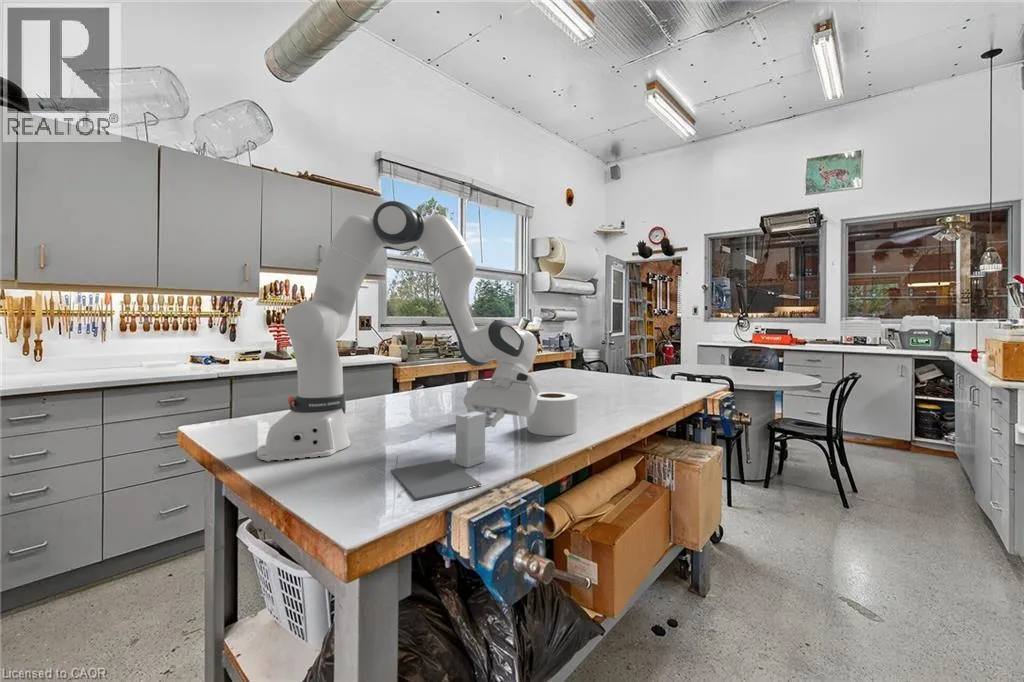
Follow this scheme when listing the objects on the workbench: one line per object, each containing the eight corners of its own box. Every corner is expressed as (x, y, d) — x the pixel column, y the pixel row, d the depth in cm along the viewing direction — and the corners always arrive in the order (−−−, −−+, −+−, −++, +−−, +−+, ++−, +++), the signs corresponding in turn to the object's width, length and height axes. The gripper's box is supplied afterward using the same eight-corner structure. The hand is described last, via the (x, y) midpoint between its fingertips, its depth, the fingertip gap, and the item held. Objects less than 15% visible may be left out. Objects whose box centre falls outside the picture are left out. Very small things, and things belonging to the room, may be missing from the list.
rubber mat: (415, 500, 85) (415, 497, 85) (390, 471, 101) (390, 469, 101) (481, 486, 92) (481, 483, 92) (448, 461, 108) (448, 459, 108)
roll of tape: (527, 423, 146) (527, 390, 145) (575, 424, 145) (575, 391, 144) (526, 436, 130) (526, 399, 130) (579, 437, 129) (579, 400, 129)
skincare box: (473, 458, 110) (473, 410, 109) (486, 462, 107) (486, 412, 107) (454, 464, 105) (454, 414, 105) (467, 469, 103) (467, 417, 102)
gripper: (471, 372, 124) (450, 413, 116) (537, 377, 113) (518, 423, 105) (480, 385, 128) (460, 426, 120) (544, 391, 117) (527, 437, 110)
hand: (488, 425), depth 113 cm, fingers closed
